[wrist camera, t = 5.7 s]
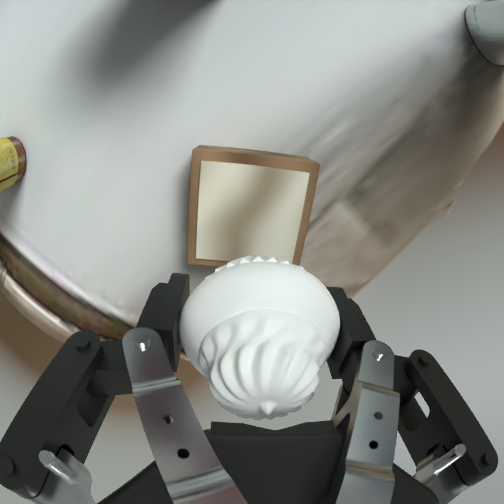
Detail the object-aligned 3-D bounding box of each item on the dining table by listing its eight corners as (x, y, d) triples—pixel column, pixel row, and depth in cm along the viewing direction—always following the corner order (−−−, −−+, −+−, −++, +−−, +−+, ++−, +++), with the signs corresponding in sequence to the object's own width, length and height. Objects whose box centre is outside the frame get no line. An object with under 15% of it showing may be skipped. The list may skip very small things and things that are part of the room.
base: (308, 157, 24) (320, 165, 20) (290, 252, 29) (298, 274, 25) (199, 145, 23) (191, 150, 19) (193, 244, 28) (186, 265, 24)
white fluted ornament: (225, 199, 11) (208, 311, 5) (342, 258, 13) (409, 372, 6) (174, 305, 14) (144, 426, 7) (277, 343, 15) (293, 455, 9)
